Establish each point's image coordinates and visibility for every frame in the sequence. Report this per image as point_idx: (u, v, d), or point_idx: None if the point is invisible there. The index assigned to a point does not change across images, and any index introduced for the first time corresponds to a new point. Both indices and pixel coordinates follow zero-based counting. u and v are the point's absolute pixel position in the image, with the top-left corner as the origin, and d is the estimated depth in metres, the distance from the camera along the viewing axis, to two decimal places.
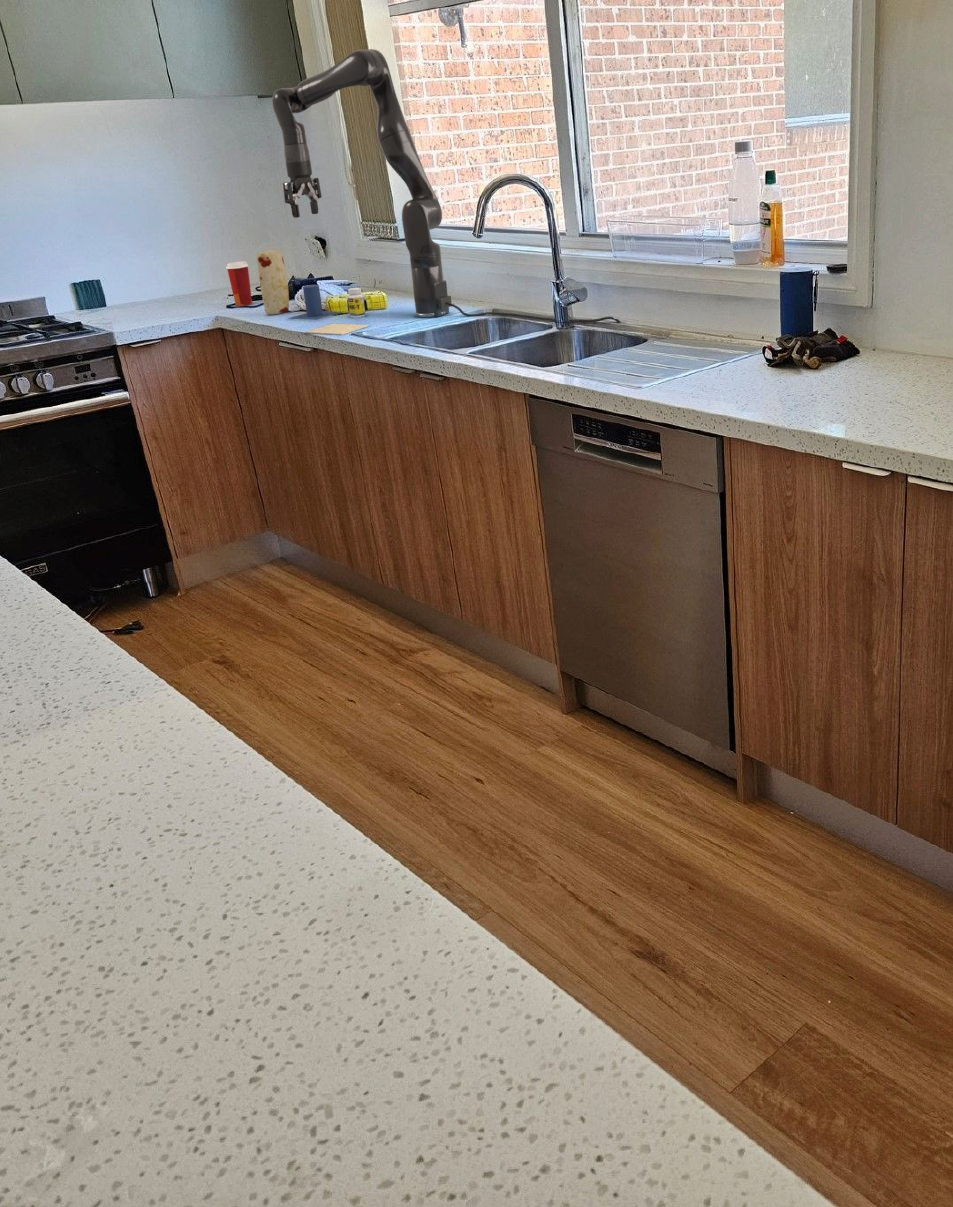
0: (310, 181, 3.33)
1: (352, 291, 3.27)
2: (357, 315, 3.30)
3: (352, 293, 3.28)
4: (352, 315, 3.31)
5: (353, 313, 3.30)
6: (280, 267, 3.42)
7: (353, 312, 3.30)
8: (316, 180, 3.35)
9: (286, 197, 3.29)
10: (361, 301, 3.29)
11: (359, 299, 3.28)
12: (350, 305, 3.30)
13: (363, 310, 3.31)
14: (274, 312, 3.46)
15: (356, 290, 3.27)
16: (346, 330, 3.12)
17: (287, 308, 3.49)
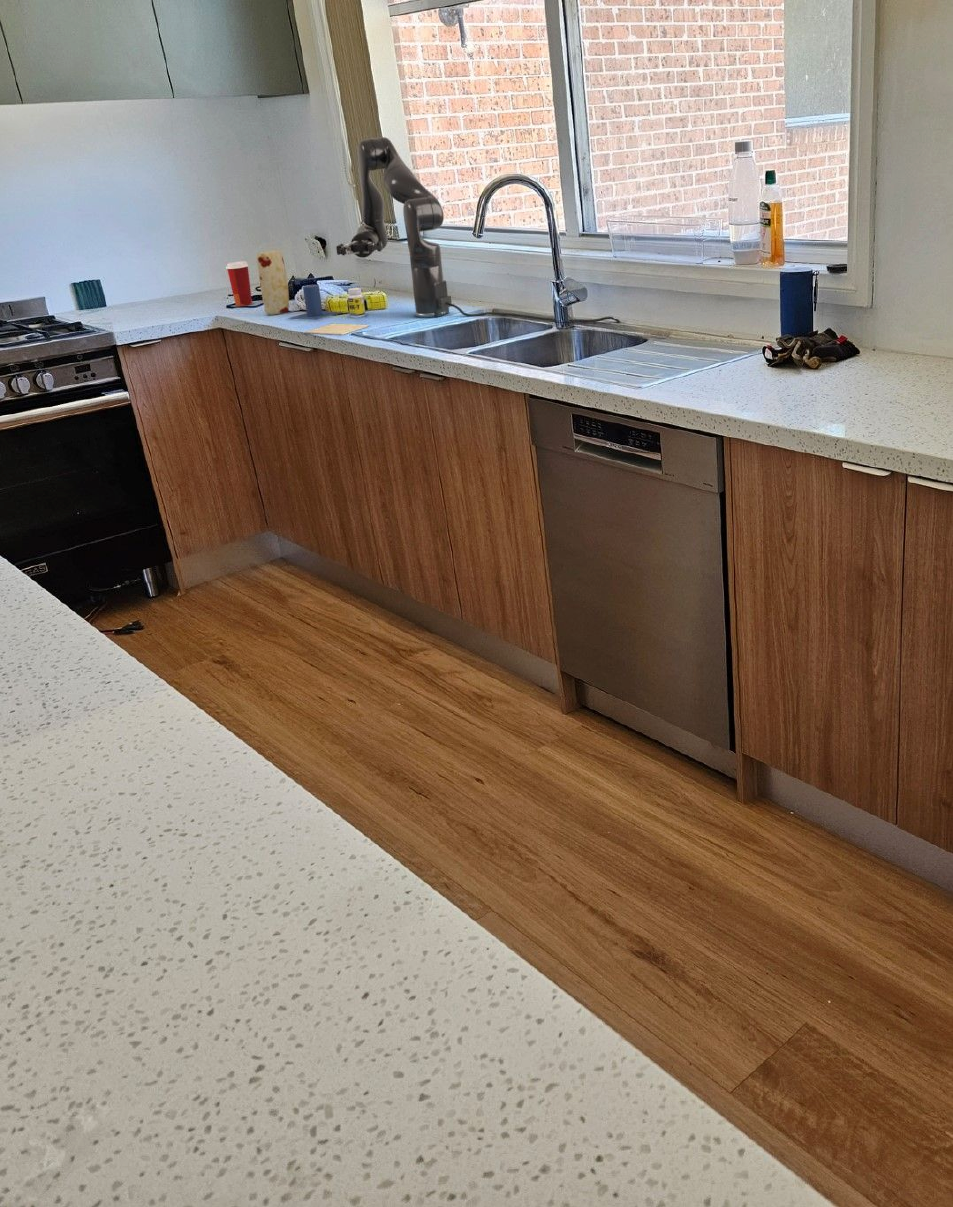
0: None
1: (352, 291, 3.27)
2: (357, 315, 3.30)
3: (352, 293, 3.28)
4: (352, 315, 3.31)
5: (353, 313, 3.30)
6: (280, 267, 3.42)
7: (353, 312, 3.30)
8: (378, 241, 3.43)
9: None
10: (361, 301, 3.29)
11: (359, 299, 3.28)
12: (350, 305, 3.30)
13: (363, 310, 3.31)
14: (274, 312, 3.46)
15: (356, 290, 3.27)
16: (346, 330, 3.12)
17: (287, 308, 3.49)
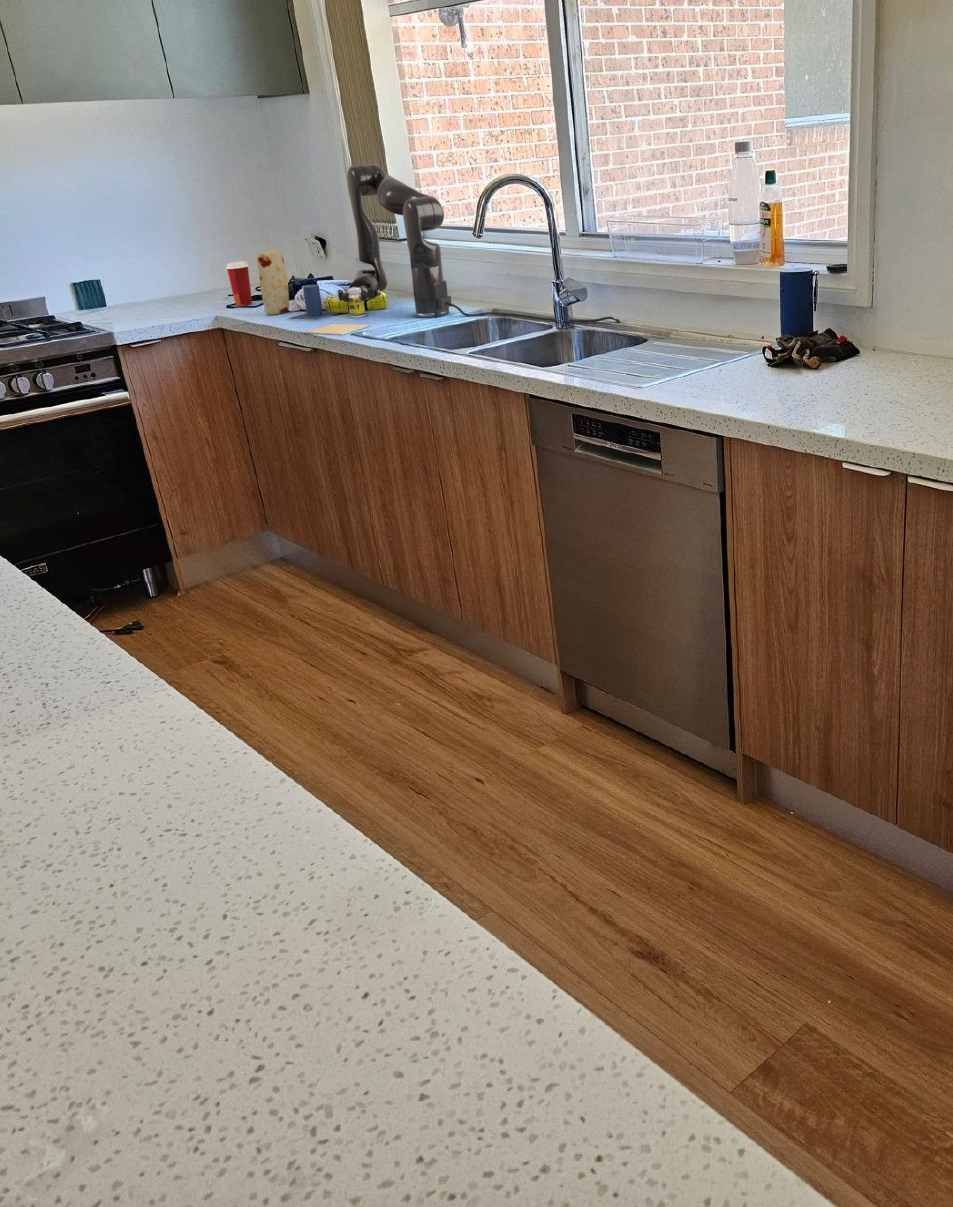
0: (368, 288, 3.36)
1: (352, 291, 3.27)
2: (357, 315, 3.30)
3: (352, 293, 3.28)
4: (352, 315, 3.31)
5: (353, 313, 3.30)
6: (280, 267, 3.42)
7: (353, 312, 3.30)
8: (376, 287, 3.35)
9: None
10: (361, 301, 3.29)
11: (359, 298, 3.28)
12: (350, 305, 3.30)
13: (363, 310, 3.31)
14: (274, 312, 3.46)
15: (356, 290, 3.27)
16: (346, 330, 3.12)
17: (287, 308, 3.49)
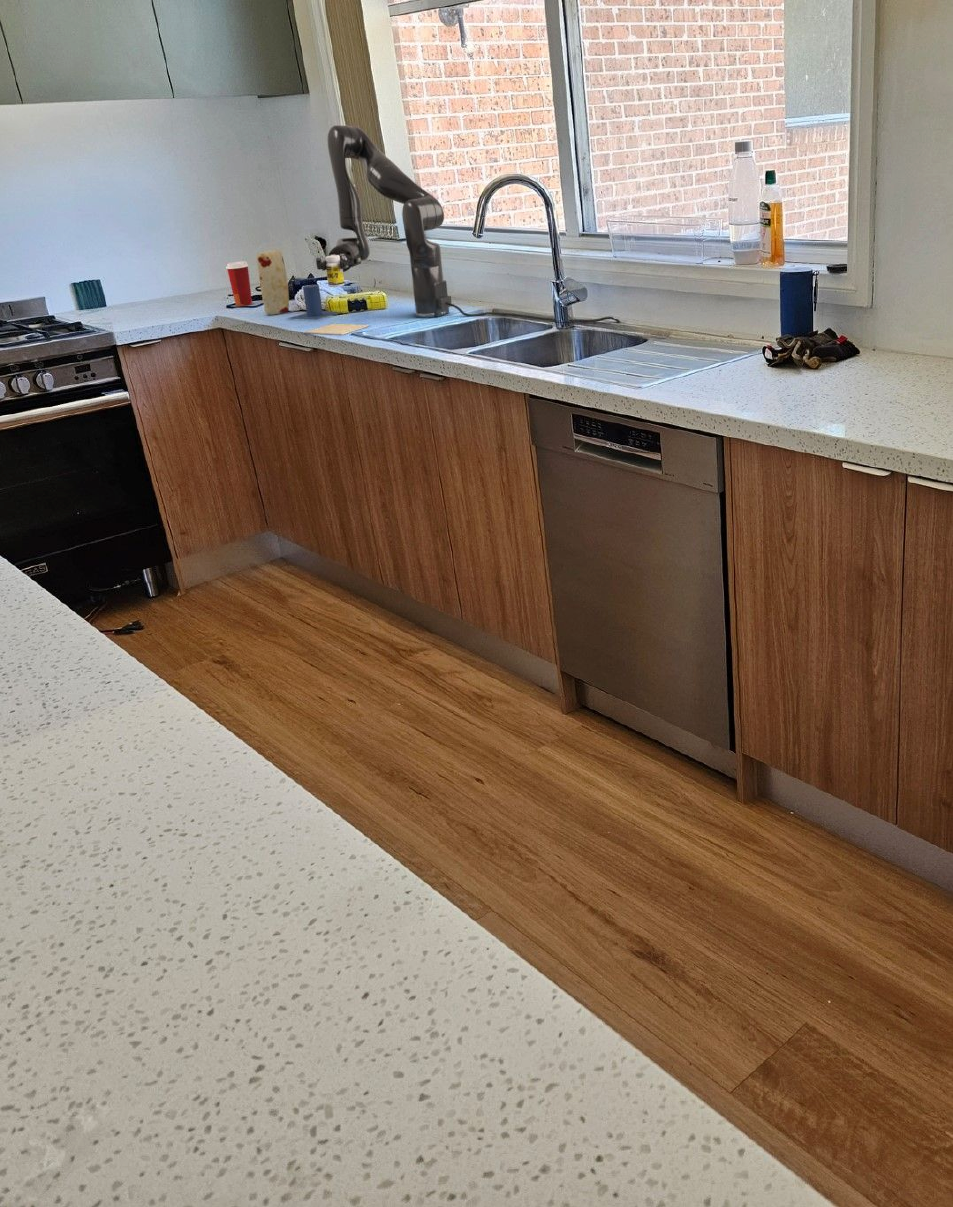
0: (348, 256, 3.19)
1: (330, 259, 3.10)
2: (336, 284, 3.13)
3: (330, 261, 3.10)
4: (330, 284, 3.13)
5: (331, 283, 3.13)
6: (280, 267, 3.42)
7: (332, 281, 3.12)
8: (356, 255, 3.18)
9: None
10: (340, 269, 3.12)
11: (338, 267, 3.11)
12: (328, 274, 3.12)
13: (342, 279, 3.13)
14: (274, 312, 3.46)
15: (334, 258, 3.10)
16: (346, 330, 3.12)
17: (287, 308, 3.49)
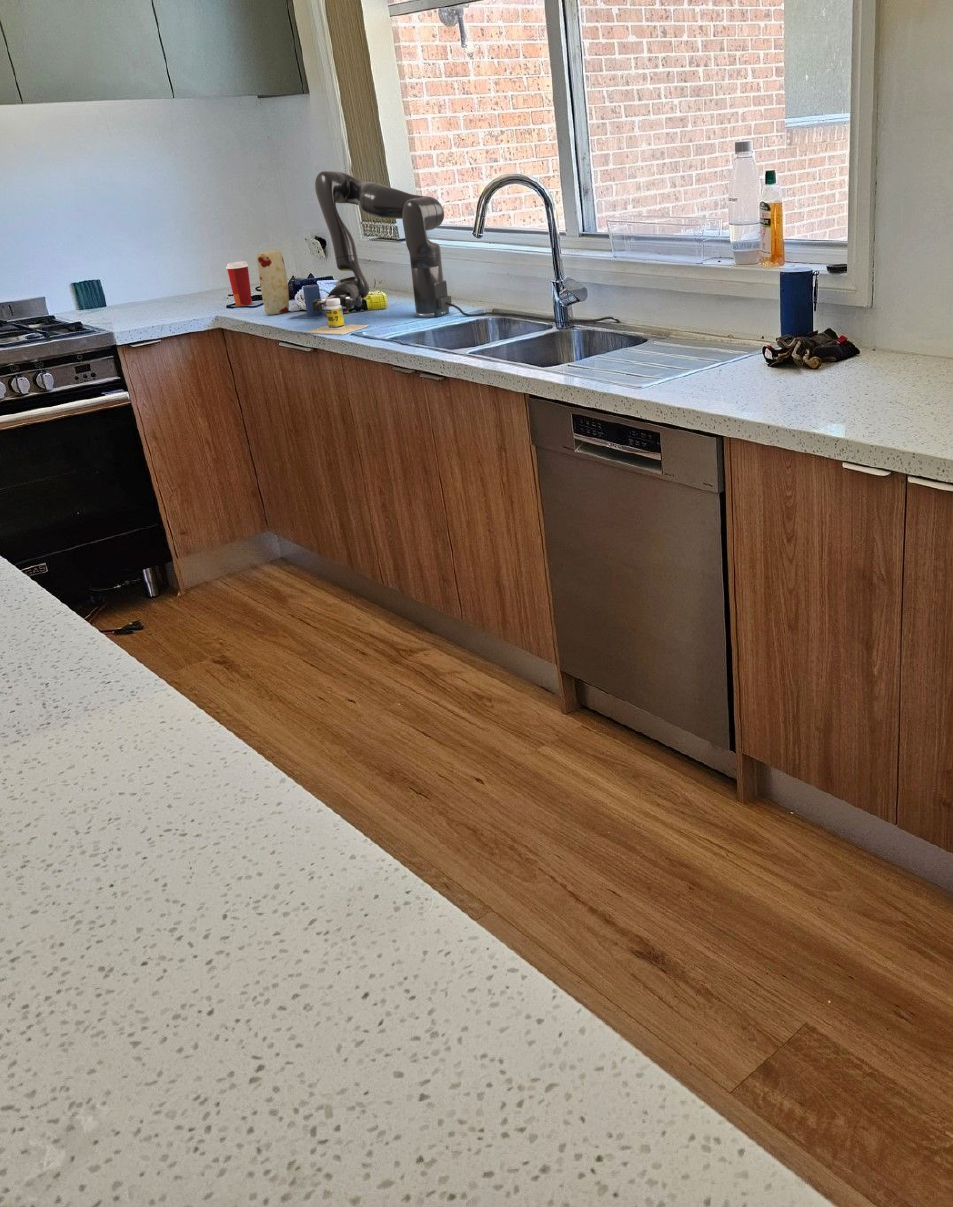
0: (348, 296, 3.19)
1: (330, 302, 3.11)
2: (336, 327, 3.13)
3: (330, 304, 3.11)
4: (330, 327, 3.14)
5: (331, 325, 3.13)
6: (280, 267, 3.42)
7: (332, 324, 3.13)
8: (357, 296, 3.19)
9: None
10: (340, 312, 3.12)
11: (338, 310, 3.12)
12: (328, 317, 3.13)
13: (342, 322, 3.14)
14: (274, 312, 3.46)
15: (334, 301, 3.11)
16: (346, 330, 3.12)
17: (287, 308, 3.49)
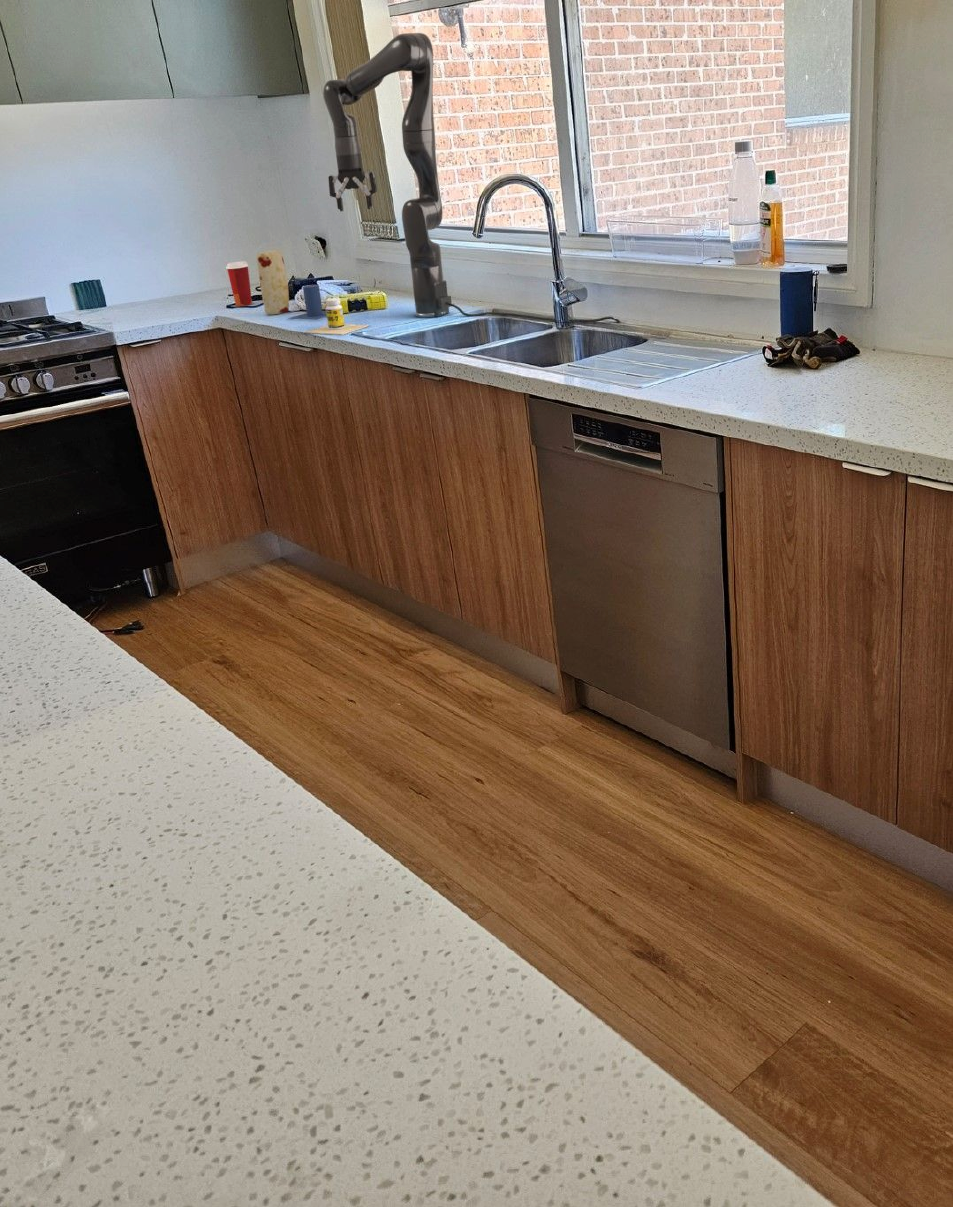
0: (360, 175, 3.24)
1: (330, 302, 3.11)
2: (336, 327, 3.13)
3: (330, 304, 3.11)
4: (330, 327, 3.14)
5: (331, 325, 3.13)
6: (280, 267, 3.42)
7: (332, 324, 3.13)
8: (369, 174, 3.23)
9: None
10: (340, 312, 3.12)
11: (338, 310, 3.12)
12: (328, 317, 3.13)
13: (342, 322, 3.14)
14: (274, 312, 3.46)
15: (334, 301, 3.11)
16: (346, 330, 3.12)
17: (287, 308, 3.49)
